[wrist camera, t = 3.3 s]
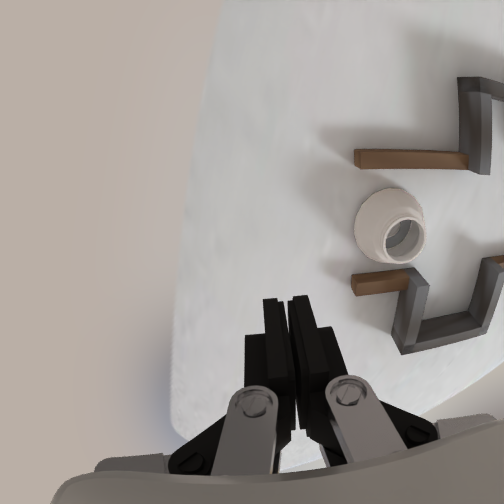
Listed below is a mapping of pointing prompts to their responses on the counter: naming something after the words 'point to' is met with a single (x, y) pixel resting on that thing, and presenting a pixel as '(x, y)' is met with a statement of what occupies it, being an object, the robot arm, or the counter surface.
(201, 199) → the counter surface
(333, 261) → the counter surface
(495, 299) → the box
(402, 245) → the white jar
